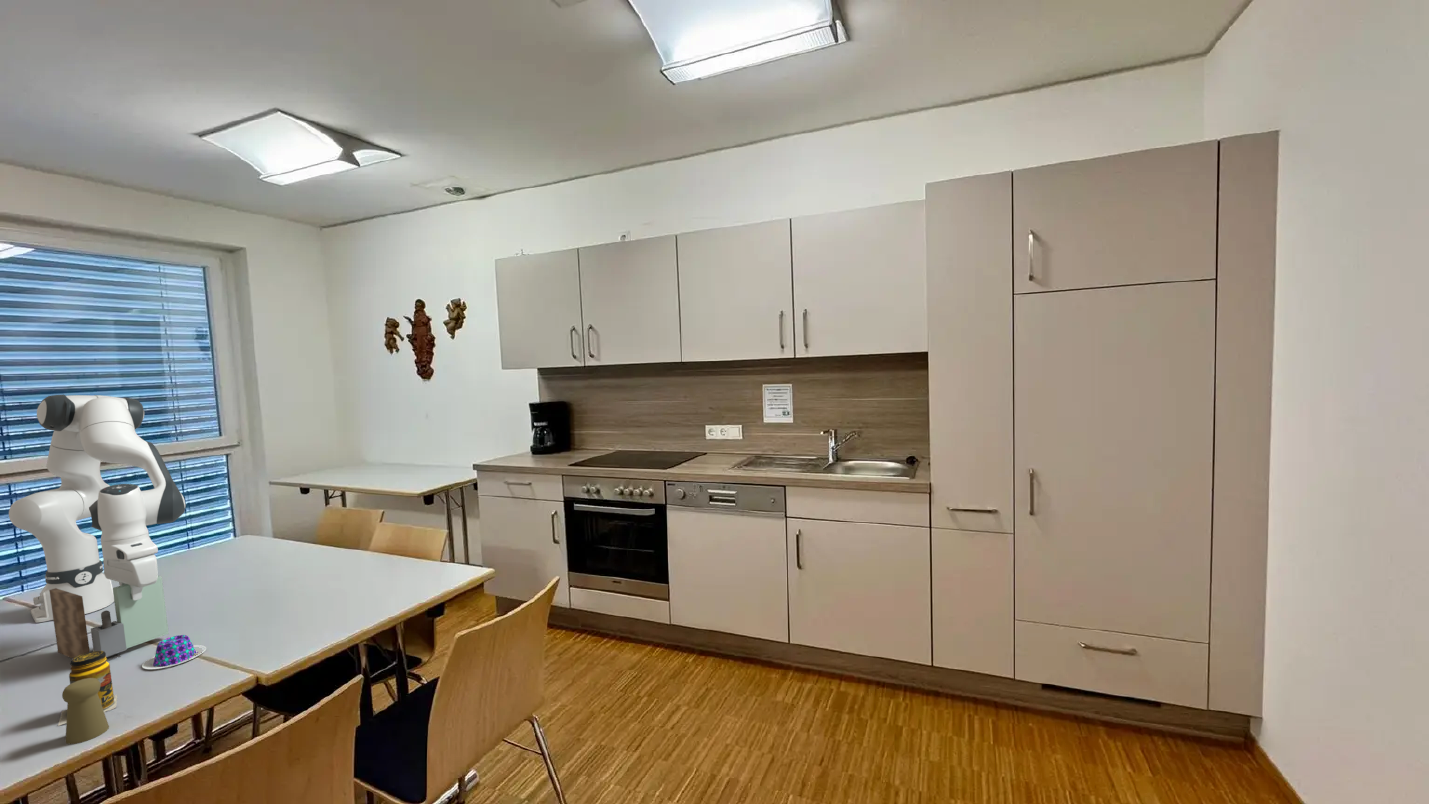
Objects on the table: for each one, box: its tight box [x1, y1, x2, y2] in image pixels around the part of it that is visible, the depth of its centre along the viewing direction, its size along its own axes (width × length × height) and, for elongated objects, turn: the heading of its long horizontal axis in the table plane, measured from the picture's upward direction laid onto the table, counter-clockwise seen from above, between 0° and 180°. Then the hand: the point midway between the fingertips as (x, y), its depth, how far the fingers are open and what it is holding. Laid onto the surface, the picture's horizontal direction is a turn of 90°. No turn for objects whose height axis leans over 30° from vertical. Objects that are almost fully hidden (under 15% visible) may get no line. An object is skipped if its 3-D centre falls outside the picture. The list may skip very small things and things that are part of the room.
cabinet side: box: [49, 588, 121, 662], centre depth 152 cm, size 20×5×17 cm, turn 64°
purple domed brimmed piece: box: [141, 634, 207, 670], centre depth 148 cm, size 12×12×5 cm
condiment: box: [57, 650, 118, 727], centre depth 126 cm, size 7×8×12 cm
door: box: [90, 575, 170, 657], centre depth 154 cm, size 5×14×16 cm, turn 154°
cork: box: [61, 678, 110, 745], centre depth 117 cm, size 6×6×11 cm
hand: (133, 598), depth 154 cm, fingers closed on door, 2 cm apart
